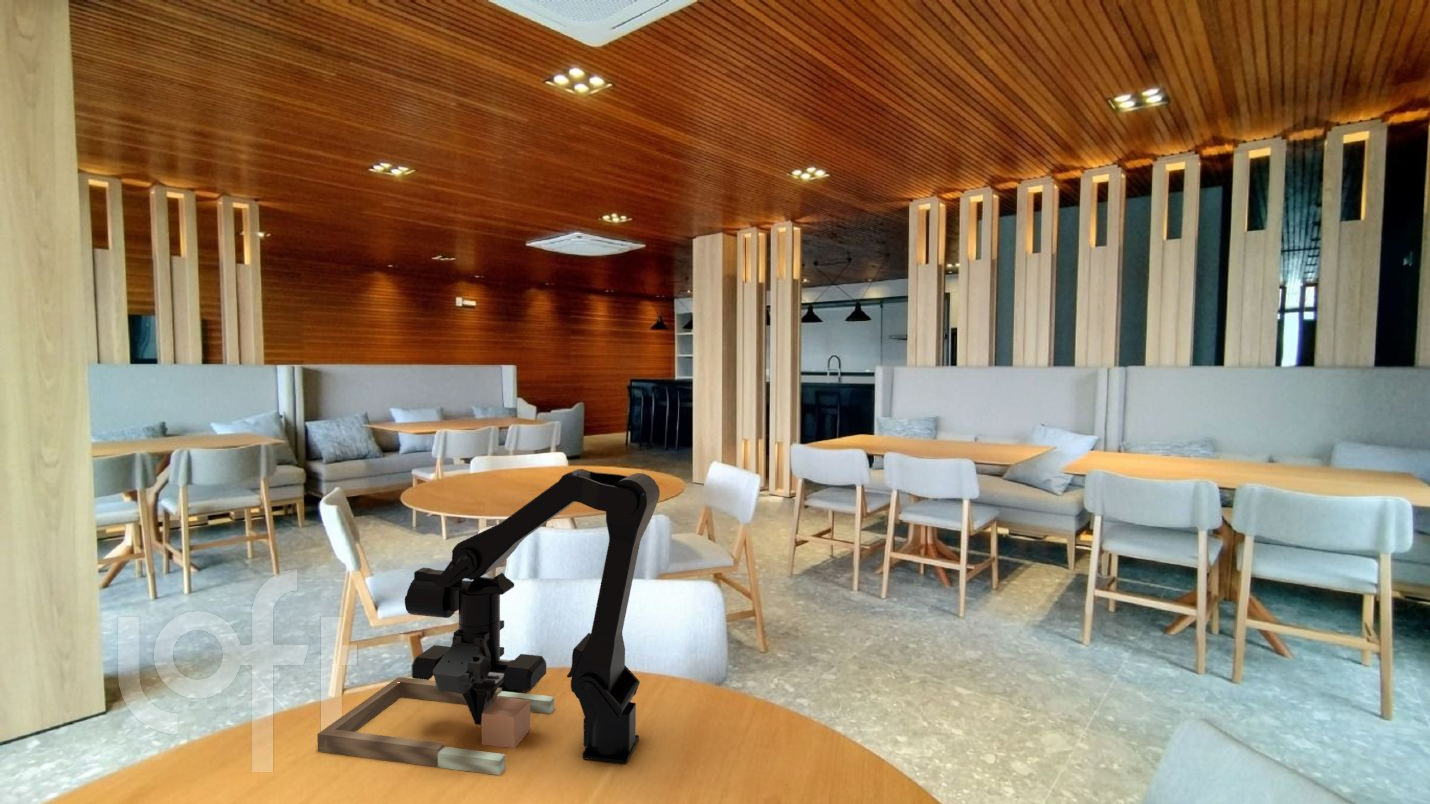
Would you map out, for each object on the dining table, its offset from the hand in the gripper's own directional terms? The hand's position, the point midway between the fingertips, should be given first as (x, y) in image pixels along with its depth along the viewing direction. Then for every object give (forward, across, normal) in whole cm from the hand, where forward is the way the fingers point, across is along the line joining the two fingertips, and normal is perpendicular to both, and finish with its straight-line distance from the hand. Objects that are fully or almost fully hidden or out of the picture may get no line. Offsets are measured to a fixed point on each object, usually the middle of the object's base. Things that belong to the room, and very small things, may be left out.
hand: (479, 723), depth 98 cm
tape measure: (+2, -1, +14) cm, 14 cm away
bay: (+1, -6, 0) cm, 6 cm away
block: (+2, +4, 0) cm, 5 cm away
